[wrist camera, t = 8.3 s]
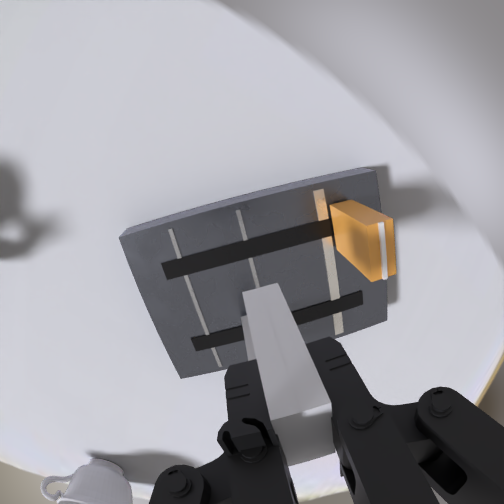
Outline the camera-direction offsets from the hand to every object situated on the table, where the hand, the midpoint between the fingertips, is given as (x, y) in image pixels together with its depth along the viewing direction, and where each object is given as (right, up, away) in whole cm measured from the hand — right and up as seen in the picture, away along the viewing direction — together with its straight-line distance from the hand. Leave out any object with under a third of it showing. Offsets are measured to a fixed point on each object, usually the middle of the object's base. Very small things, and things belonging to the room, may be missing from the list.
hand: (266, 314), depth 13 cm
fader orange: (+6, +5, +10) cm, 13 cm away
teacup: (-24, -30, +22) cm, 44 cm away
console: (+1, +1, +13) cm, 13 cm away
